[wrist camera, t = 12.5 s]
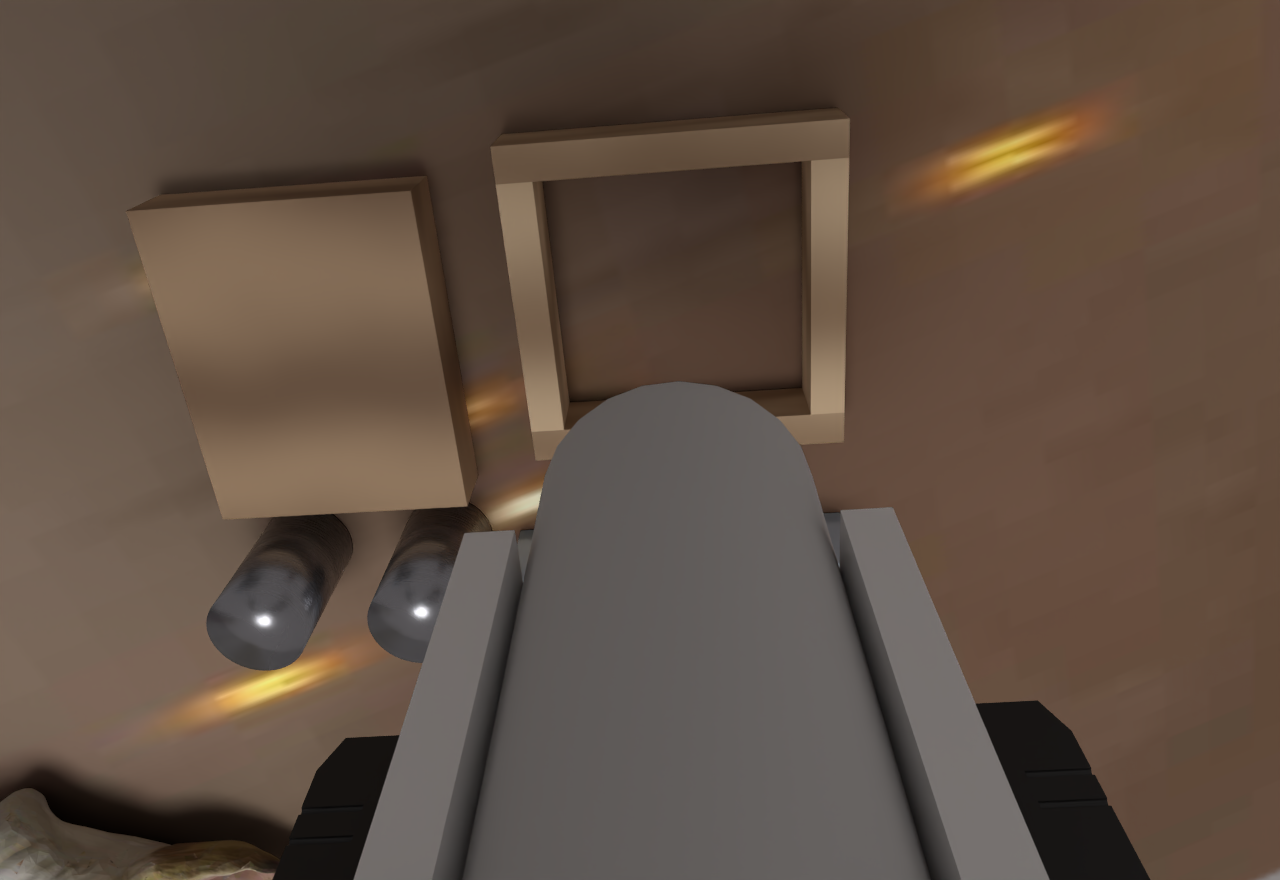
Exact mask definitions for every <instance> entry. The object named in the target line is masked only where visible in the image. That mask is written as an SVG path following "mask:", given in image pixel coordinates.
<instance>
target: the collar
mask: <svg viewBox="0 0 1280 880" xmlns="http://www.w3.org/2000/svg"><path fill="white" fill-rule="evenodd" d="M849 144H850V118H849V117H848V116H846V115H845V114H844V113H843V112H842V111H841V110H840V109H839V108H826V109H813V110H801V111H788V112H775V113H763V114H750V115H737V116H725V117H712V118H699V119H687V120H674V121H661V122H649V123H636V124H623V125H611V126H598V127H585V128H573V129H560V130H548V131H535V132H522V133H510V134H501V135H500V136H499V137H498V139H497V140H496V141H495V142H494V143H493V144H492V145H491V146H490V149H491V156H492V163H493V170H494V177H495V184H496V190H497V197H498V204H499V211H500V218H501V225H502V232H503V239H504V246H505V252H506V259H507V266H508V273H509V280H510V287H511V294H512V301H513V308H514V314H515V321H516V328H517V335H518V342H519V349H520V356H521V363H522V370H523V376H524V383H525V390H526V397H527V404H528V411H529V418H530V425H531V431H532V438H533V445H534V452H535V459H536V461H538V460H552V458H553V455H554V453H555V450H556V448H557V446H558V445H559V443H560V442H561V441H562V440H563V439H564V437H565V436H566V435H567V434H568V432H569V431H570V430H571V429H572V428H573V426H574V425H575V424H576V423H577V421H578V420H579V419H581V418H582V417H583V416H585V415H586V414H588V413H589V412H590V411H592V410H593V409H595V408H596V407H597V406H599V405H600V404H602V403H603V402H604V401H606V400H602V401H587V402H571V403H570V401H569V393H568V385H567V377H566V369H565V361H564V353H563V345H562V337H561V328H560V320H559V312H558V304H557V296H556V288H555V280H554V272H553V264H552V255H551V247H550V239H549V231H548V223H547V215H546V207H545V199H544V191H543V183H542V181H551V180H564V179H577V178H590V177H603V176H616V175H630V174H643V173H656V172H669V171H682V170H695V169H708V168H722V167H735V166H748V165H761V164H774V163H787V162H800V161H802V388H792V389H776V390H760V391H744V392H734V393H737V394H739V395H742V396H745V397H747V398H750V399H752V400H753V401H754V402H756V403H757V404H759V405H760V406H761V407H763V408H764V409H765V410H767V411H768V412H770V413H771V414H772V415H774V416H775V417H776V418H778V419H779V420H780V421H781V422H782V423H783V424H784V426H785V427H786V428H787V430H788V431H789V432H790V433H791V435H792V436H793V437H794V438H795V440H796V441H797V442H798V443H799V445H805V444H821V443H838V442H844V406H845V354H846V301H847V249H848V196H849Z"/></svg>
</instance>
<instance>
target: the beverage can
mask: <svg viewBox="0 0 1280 880" xmlns="http://www.w3.org/2000/svg"><path fill="white" fill-rule="evenodd" d="M462 880H932V879H931V876H930V872H929V869H928V866H927V862H926V859H925V855H924V852H923V849H922V845H921V842H920V838H919V835H918V832H917V828H916V825H915V822H914V818H913V815H912V811H911V808H910V805H909V801H908V798H907V795H906V791H905V788H904V784H903V781H902V778H901V774H900V771H899V767H898V764H897V761H896V757H895V754H894V751H893V747H892V744H891V740H890V737H889V734H888V730H887V727H886V724H885V720H884V717H883V713H882V710H881V707H880V703H879V700H878V696H877V693H876V690H875V686H874V683H873V680H872V676H871V673H870V669H869V666H868V663H867V659H866V656H865V653H864V649H863V646H862V642H861V639H860V636H859V632H858V629H857V625H856V622H855V619H854V615H853V612H852V609H851V605H850V602H849V598H848V595H847V592H846V588H845V585H844V581H843V578H842V575H841V571H840V568H839V565H838V561H837V558H836V554H835V551H834V548H833V544H832V541H831V538H830V534H829V531H828V527H827V524H826V521H825V517H824V514H823V510H822V507H821V504H820V500H819V497H818V494H817V490H816V487H815V483H814V480H813V477H812V474H811V471H810V469H809V466H808V464H807V461H806V458H805V456H804V453H803V451H802V448H801V446H800V445H799V443H798V442H797V441H796V440H795V438H794V437H793V436H792V435H791V433H790V432H789V431H788V430H787V428H786V427H785V426H784V424H783V423H782V422H781V421H780V420H779V419H778V418H776V417H775V416H774V415H772V414H771V413H770V412H768V411H767V410H765V409H764V408H763V407H761V406H760V405H759V404H757V403H756V402H754V401H753V400H752V399H750V398H747V397H745V396H742V395H739V394H737V393H734V392H731V391H729V390H726V389H724V388H721V387H718V386H714V385H706V384H697V383H689V382H681V381H678V382H670V383H662V384H654V385H646V386H641V387H638V388H635V389H633V390H630V391H628V392H625V393H622V394H620V395H617V396H614V397H612V398H609V399H607V400H606V401H604V402H603V403H602V404H600V405H599V406H597V407H596V408H595V409H593V410H592V411H590V412H589V413H588V414H586V415H585V416H583V417H582V418H581V419H579V420H578V421H577V423H576V424H575V425H574V426H573V428H572V429H571V430H570V431H569V432H568V434H567V435H566V436H565V437H564V439H563V440H562V441H561V442H560V443H559V445H558V446H557V448H556V450H555V453H554V455H553V458H552V460H551V462H550V465H549V467H548V470H547V472H546V475H545V478H544V483H543V488H542V493H541V498H540V503H539V508H538V512H537V517H536V522H535V527H534V532H533V537H532V542H531V547H530V551H529V556H528V561H527V566H526V571H525V576H524V581H523V585H522V590H521V595H520V600H519V605H518V610H517V615H516V620H515V624H514V629H513V634H512V639H511V644H510V649H509V654H508V659H507V663H506V668H505V673H504V678H503V683H502V688H501V693H500V697H499V702H498V707H497V712H496V717H495V722H494V727H493V732H492V736H491V741H490V746H489V751H488V756H487V761H486V766H485V771H484V775H483V780H482V785H481V790H480V795H479V800H478V805H477V809H476V814H475V819H474V824H473V829H472V834H471V839H470V844H469V848H468V853H467V858H466V863H465V868H464V873H463V878H462Z"/></svg>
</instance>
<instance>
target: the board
mask: <svg viewBox="0 0 1280 880" xmlns="http://www.w3.org/2000/svg"><path fill="white" fill-rule="evenodd" d="M126 213H127V217H128V220H129V223H130V226H131V229H132V232H133V236H134V239H135V242H136V245H137V248H138V251H139V255H140V258H141V261H142V264H143V267H144V270H145V274H146V277H147V280H148V283H149V286H150V289H151V293H152V296H153V299H154V302H155V305H156V309H157V312H158V315H159V318H160V321H161V324H162V328H163V331H164V334H165V337H166V340H167V343H168V347H169V350H170V353H171V356H172V359H173V362H174V366H175V369H176V372H177V375H178V378H179V382H180V385H181V388H182V391H183V394H184V397H185V401H186V404H187V407H188V410H189V413H190V416H191V420H192V423H193V426H194V429H195V432H196V435H197V439H198V442H199V445H200V448H201V451H202V454H203V458H204V461H205V464H206V467H207V470H208V474H209V477H210V480H211V483H212V486H213V489H214V493H215V496H216V499H217V502H218V505H219V508H220V512H221V515H222V518H223V520H226V519H244V518H263V517H281V516H300V515H318V514H337V513H355V512H374V511H392V510H410V509H429V508H447V507H466V506H468V503H469V500H470V497H471V495H472V492H473V489H474V486H475V483H476V480H477V478H478V471H477V465H476V459H475V453H474V447H473V442H472V436H471V430H470V424H469V418H468V412H467V407H466V401H465V395H464V389H463V383H462V378H461V372H460V366H459V360H458V354H457V348H456V343H455V337H454V331H453V325H452V319H451V313H450V308H449V302H448V296H447V290H446V284H445V279H444V273H443V267H442V261H441V255H440V249H439V244H438V238H437V232H436V226H435V220H434V214H433V209H432V203H431V197H430V191H429V185H428V180H427V176H415V177H401V178H387V179H373V180H359V181H345V182H331V183H317V184H304V185H290V186H276V187H262V188H248V189H234V190H220V191H206V192H192V193H178V194H164V195H159V196H157V197H155V198H153V199H150V200H148V201H146V202H144V203H142V204H140V205H138V206H136V207H134V208H132V209H129V210H127V211H126Z"/></svg>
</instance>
